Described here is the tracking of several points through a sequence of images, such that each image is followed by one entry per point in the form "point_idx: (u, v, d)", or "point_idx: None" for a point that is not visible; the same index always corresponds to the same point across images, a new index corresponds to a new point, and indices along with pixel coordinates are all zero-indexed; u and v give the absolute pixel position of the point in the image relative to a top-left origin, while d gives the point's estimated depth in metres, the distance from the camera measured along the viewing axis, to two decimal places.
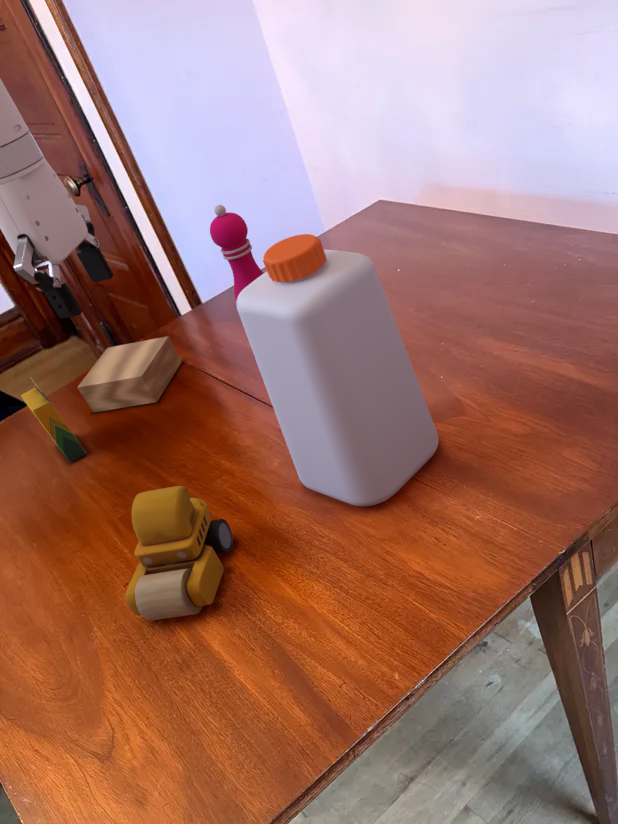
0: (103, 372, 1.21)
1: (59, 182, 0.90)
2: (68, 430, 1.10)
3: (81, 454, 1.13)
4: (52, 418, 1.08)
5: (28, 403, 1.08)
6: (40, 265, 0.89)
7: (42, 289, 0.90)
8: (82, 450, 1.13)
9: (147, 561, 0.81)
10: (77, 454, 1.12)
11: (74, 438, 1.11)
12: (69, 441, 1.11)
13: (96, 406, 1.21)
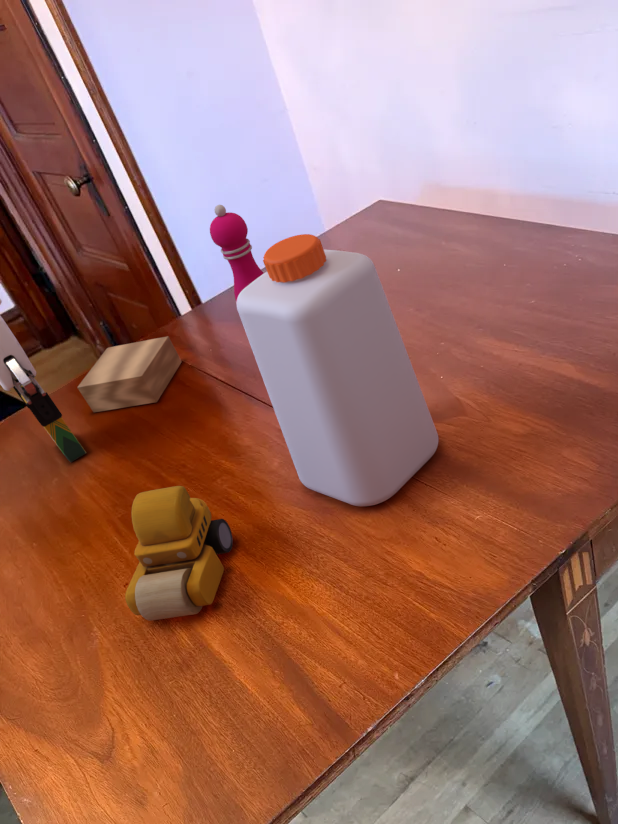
0: (103, 372, 1.21)
1: None
2: (68, 430, 1.10)
3: (81, 454, 1.13)
4: None
5: None
6: None
7: (32, 401, 1.04)
8: (82, 450, 1.13)
9: (147, 561, 0.81)
10: (77, 454, 1.12)
11: (74, 438, 1.11)
12: (69, 441, 1.11)
13: (96, 406, 1.21)
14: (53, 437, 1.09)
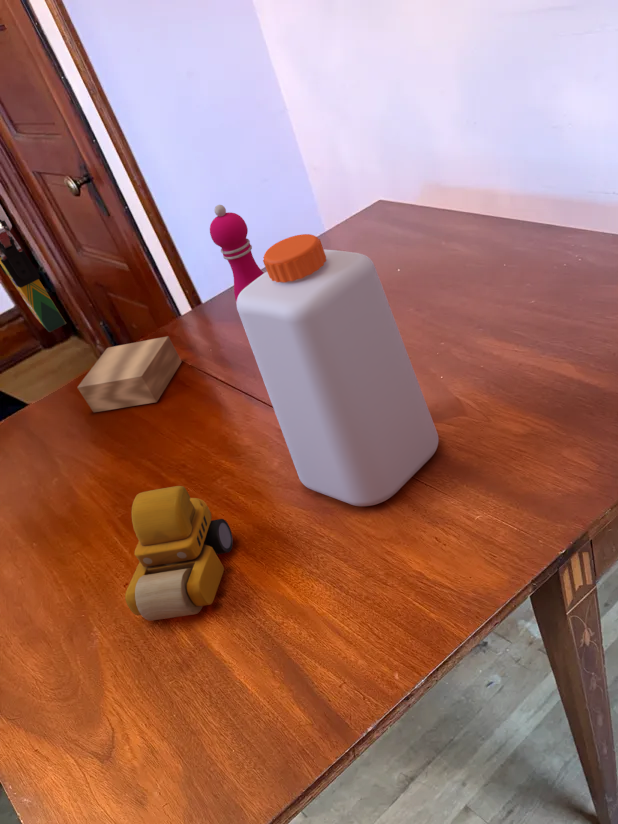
0: (103, 372, 1.21)
1: None
2: (46, 295, 1.04)
3: (60, 324, 1.07)
4: None
5: None
6: None
7: (7, 256, 0.98)
8: (61, 319, 1.07)
9: (147, 561, 0.81)
10: (56, 323, 1.07)
11: (53, 305, 1.06)
12: (47, 308, 1.05)
13: (96, 406, 1.21)
14: (30, 302, 1.04)
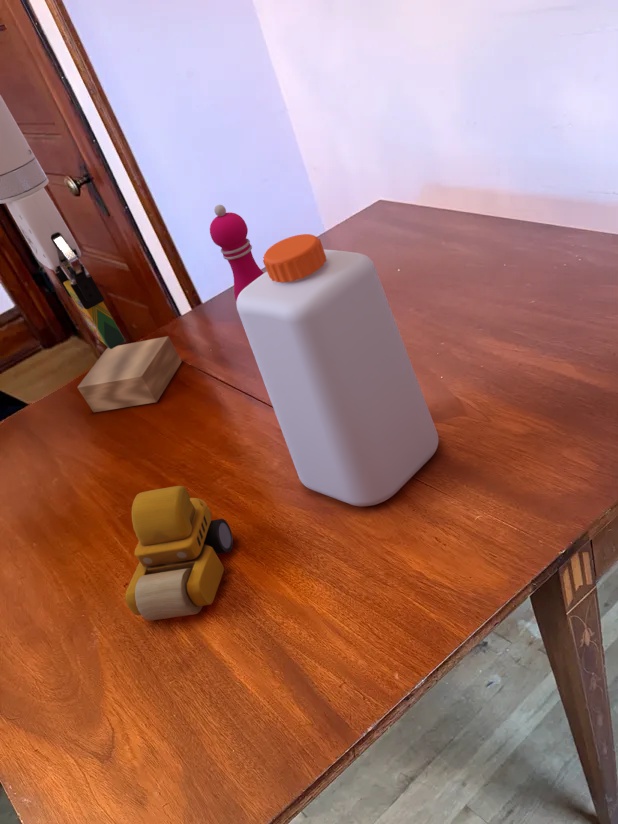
0: (103, 372, 1.21)
1: None
2: (109, 315, 1.14)
3: (120, 341, 1.17)
4: None
5: (71, 287, 1.12)
6: (68, 263, 1.07)
7: (77, 282, 1.08)
8: (122, 337, 1.16)
9: (147, 561, 0.81)
10: (117, 341, 1.16)
11: (114, 324, 1.15)
12: (110, 327, 1.15)
13: (96, 406, 1.21)
14: (95, 322, 1.13)
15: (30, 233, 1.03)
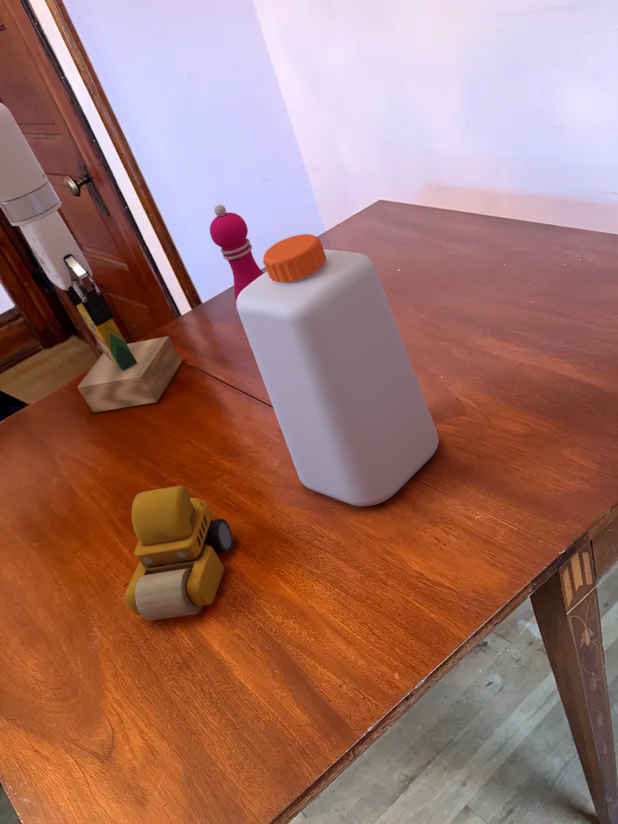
0: (103, 372, 1.21)
1: None
2: (121, 338, 1.16)
3: (132, 363, 1.19)
4: (107, 325, 1.14)
5: (84, 311, 1.15)
6: (79, 281, 1.08)
7: (88, 299, 1.09)
8: (133, 359, 1.19)
9: (147, 561, 0.81)
10: (129, 363, 1.19)
11: (126, 347, 1.18)
12: (122, 349, 1.17)
13: (96, 406, 1.21)
14: (107, 344, 1.16)
15: (43, 255, 1.05)
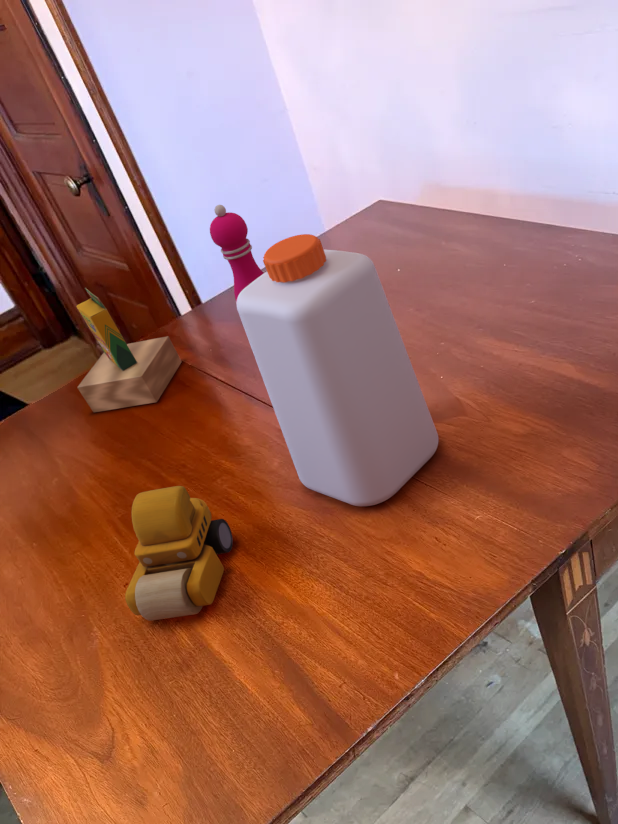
0: (103, 372, 1.21)
1: None
2: (121, 338, 1.16)
3: (132, 363, 1.19)
4: (107, 325, 1.14)
5: (84, 311, 1.15)
6: None
7: None
8: (133, 359, 1.19)
9: (147, 561, 0.81)
10: (129, 363, 1.19)
11: (126, 347, 1.18)
12: (122, 349, 1.17)
13: (96, 406, 1.21)
14: (107, 344, 1.16)
15: None
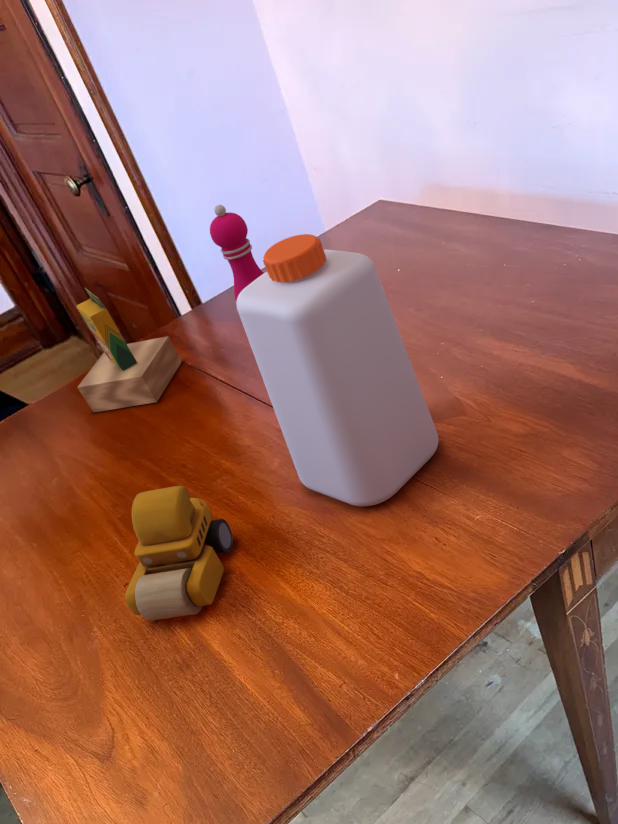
0: (103, 372, 1.21)
1: None
2: (121, 338, 1.16)
3: (132, 363, 1.19)
4: (107, 325, 1.14)
5: (84, 311, 1.15)
6: None
7: None
8: (133, 359, 1.19)
9: (147, 561, 0.81)
10: (129, 363, 1.19)
11: (126, 347, 1.18)
12: (122, 349, 1.17)
13: (96, 406, 1.21)
14: (107, 344, 1.16)
15: None
